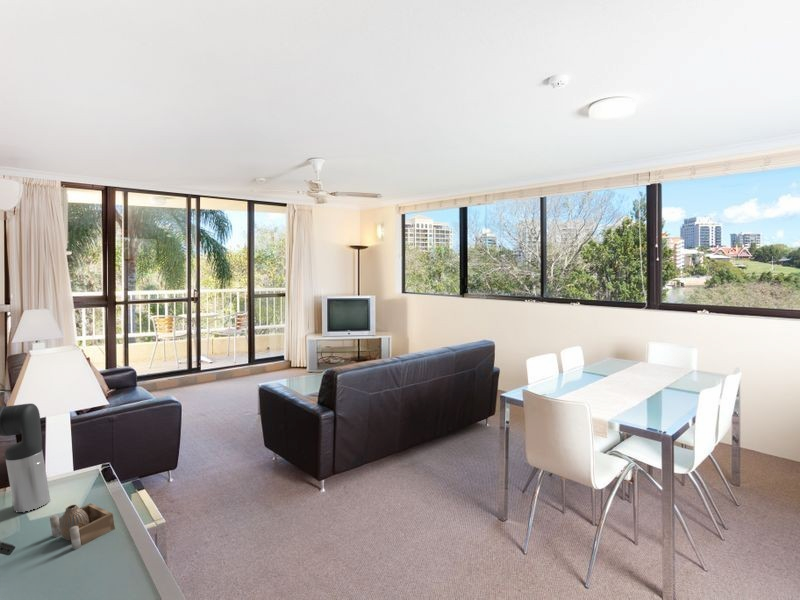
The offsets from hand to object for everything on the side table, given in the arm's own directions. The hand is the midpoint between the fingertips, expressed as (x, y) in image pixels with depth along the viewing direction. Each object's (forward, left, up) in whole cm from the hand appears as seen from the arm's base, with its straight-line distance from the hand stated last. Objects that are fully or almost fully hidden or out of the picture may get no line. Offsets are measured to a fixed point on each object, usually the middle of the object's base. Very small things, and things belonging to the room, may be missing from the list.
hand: (11, 550), depth 118 cm
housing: (0, +17, -5) cm, 17 cm away
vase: (0, +14, -5) cm, 15 cm away
